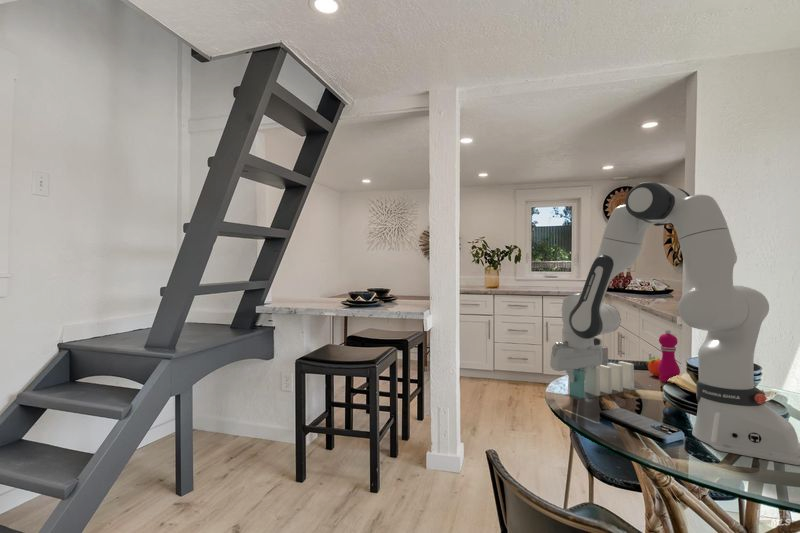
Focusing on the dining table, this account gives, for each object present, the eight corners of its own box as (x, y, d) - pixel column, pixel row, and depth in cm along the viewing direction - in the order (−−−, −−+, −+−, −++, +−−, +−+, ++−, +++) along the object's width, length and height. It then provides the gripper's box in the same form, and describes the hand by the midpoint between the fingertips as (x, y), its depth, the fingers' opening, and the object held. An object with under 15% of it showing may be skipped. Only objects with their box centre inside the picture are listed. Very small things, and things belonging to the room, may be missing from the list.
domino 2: (588, 391, 146) (587, 365, 146) (600, 395, 142) (599, 368, 142) (585, 391, 146) (584, 366, 146) (596, 395, 141) (596, 369, 141)
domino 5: (621, 385, 153) (621, 361, 153) (634, 389, 148) (633, 364, 148) (618, 386, 152) (618, 361, 152) (631, 389, 147) (630, 364, 148)
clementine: (651, 378, 164) (651, 360, 164) (641, 374, 171) (641, 356, 171) (672, 378, 164) (671, 360, 164) (661, 374, 171) (661, 356, 171)
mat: (624, 386, 154) (624, 384, 154) (639, 390, 148) (639, 389, 148) (564, 396, 143) (564, 394, 143) (577, 401, 137) (577, 399, 137)
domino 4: (611, 387, 151) (610, 362, 151) (623, 391, 146) (622, 365, 146) (607, 388, 150) (607, 363, 150) (619, 391, 145) (619, 366, 145)
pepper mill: (680, 385, 154) (679, 331, 154) (657, 383, 158) (656, 330, 158) (679, 381, 160) (678, 329, 160) (657, 378, 164) (656, 328, 164)
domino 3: (599, 389, 148) (599, 364, 149) (611, 393, 144) (611, 367, 144) (596, 390, 148) (596, 364, 148) (608, 393, 143) (607, 367, 143)
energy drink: (605, 374, 171) (604, 345, 171) (610, 377, 166) (610, 347, 166) (591, 374, 172) (591, 345, 172) (596, 377, 166) (596, 347, 167)
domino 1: (573, 393, 144) (572, 367, 144) (584, 397, 139) (584, 371, 139) (569, 394, 143) (569, 368, 143) (581, 398, 139) (580, 371, 139)
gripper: (559, 344, 134) (560, 387, 134) (605, 339, 142) (606, 380, 142) (545, 341, 140) (546, 382, 140) (590, 337, 148) (591, 375, 148)
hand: (577, 381), depth 141 cm, fingers open, 3 cm apart
